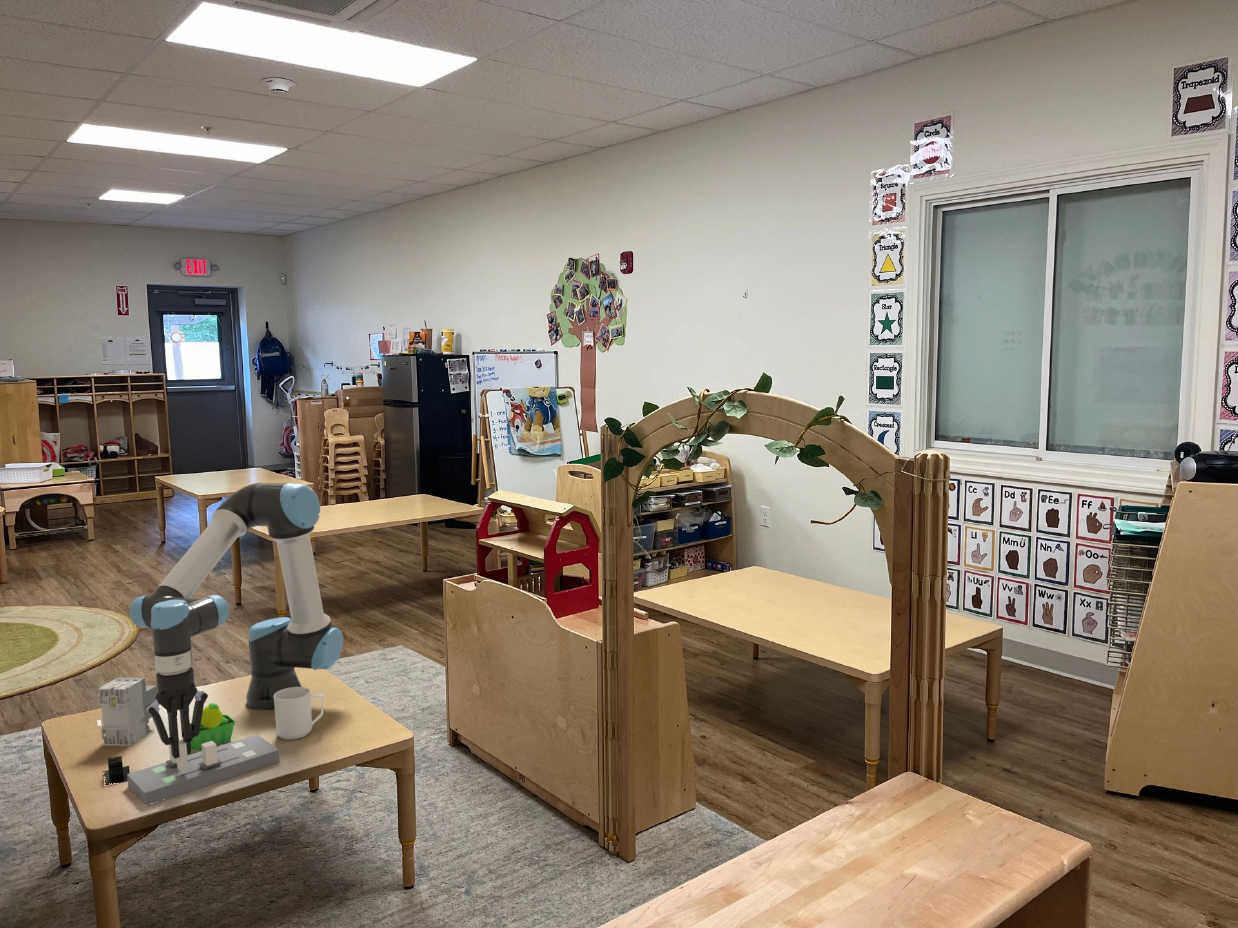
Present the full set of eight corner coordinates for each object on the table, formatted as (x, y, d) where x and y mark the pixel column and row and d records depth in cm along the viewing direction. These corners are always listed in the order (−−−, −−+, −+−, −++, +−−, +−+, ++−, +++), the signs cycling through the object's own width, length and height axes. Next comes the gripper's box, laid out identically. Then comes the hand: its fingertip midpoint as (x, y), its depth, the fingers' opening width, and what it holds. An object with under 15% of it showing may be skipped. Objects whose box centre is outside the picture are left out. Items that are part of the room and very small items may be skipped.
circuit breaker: (163, 723, 242) (159, 669, 240) (130, 745, 228) (125, 689, 226) (137, 722, 242) (133, 669, 241) (102, 745, 228) (97, 688, 226)
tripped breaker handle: (216, 759, 211) (215, 739, 210) (221, 763, 208) (220, 743, 208) (199, 765, 208) (197, 744, 207) (203, 769, 206) (202, 748, 205)
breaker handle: (184, 757, 212) (182, 737, 212) (188, 761, 210) (187, 741, 209) (166, 762, 210) (164, 742, 209) (170, 767, 207) (168, 746, 207)
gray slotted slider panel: (258, 745, 226) (257, 733, 226) (279, 761, 217) (279, 749, 216) (128, 786, 205) (127, 773, 205) (145, 805, 196) (144, 792, 196)
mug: (276, 743, 227) (274, 701, 226) (276, 730, 235) (273, 689, 234) (326, 735, 231) (323, 694, 230) (323, 722, 240) (321, 682, 238)
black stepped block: (99, 771, 215) (97, 753, 214) (133, 764, 218) (132, 746, 218) (99, 792, 204) (97, 773, 203) (135, 784, 208) (134, 766, 207)
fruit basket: (227, 731, 235) (224, 690, 234) (239, 741, 229) (236, 699, 227) (181, 745, 228) (177, 702, 226) (192, 755, 221) (189, 711, 220)
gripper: (148, 681, 194) (157, 784, 197) (210, 666, 203) (218, 765, 206) (137, 673, 199) (146, 773, 202) (198, 658, 208) (206, 755, 211)
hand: (183, 769), depth 204 cm, fingers closed
